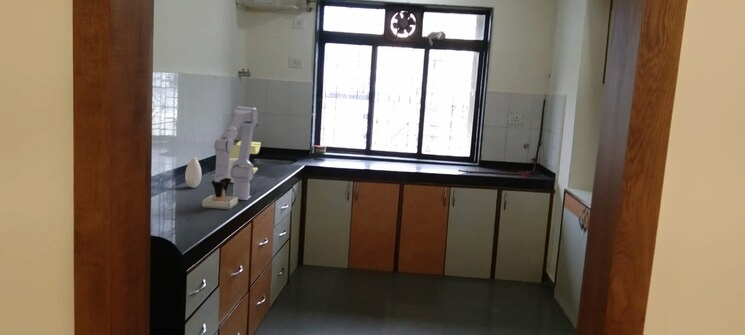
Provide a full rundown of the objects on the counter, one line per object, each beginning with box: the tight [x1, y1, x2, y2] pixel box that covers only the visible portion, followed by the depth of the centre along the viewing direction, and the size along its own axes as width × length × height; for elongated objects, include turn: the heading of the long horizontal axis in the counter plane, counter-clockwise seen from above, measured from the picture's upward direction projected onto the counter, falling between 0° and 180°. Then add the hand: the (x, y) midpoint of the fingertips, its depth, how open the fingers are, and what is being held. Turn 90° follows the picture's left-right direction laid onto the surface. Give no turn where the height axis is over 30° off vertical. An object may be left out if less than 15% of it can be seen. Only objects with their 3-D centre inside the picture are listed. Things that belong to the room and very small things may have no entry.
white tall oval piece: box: [184, 152, 203, 189], centre depth 292 cm, size 8×8×18 cm
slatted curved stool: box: [230, 140, 262, 174], centre depth 365 cm, size 30×16×18 cm, turn 5°
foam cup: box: [229, 158, 243, 184], centre depth 320 cm, size 10×9×13 cm
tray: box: [201, 194, 239, 210], centre depth 256 cm, size 14×12×3 cm
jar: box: [215, 189, 226, 202], centre depth 255 cm, size 4×4×7 cm
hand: (220, 195), depth 255 cm, fingers open, 7 cm apart
